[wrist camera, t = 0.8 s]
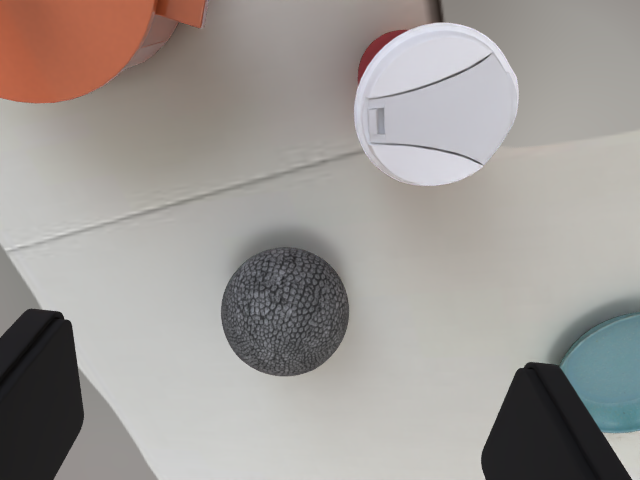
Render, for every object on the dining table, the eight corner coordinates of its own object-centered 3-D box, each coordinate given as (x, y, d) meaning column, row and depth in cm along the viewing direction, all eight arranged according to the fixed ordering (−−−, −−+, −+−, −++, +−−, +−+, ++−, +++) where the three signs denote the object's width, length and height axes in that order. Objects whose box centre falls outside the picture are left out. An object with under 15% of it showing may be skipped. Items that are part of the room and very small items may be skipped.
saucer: (573, 288, 42) (588, 305, 40) (732, 301, 43) (756, 319, 41) (525, 407, 49) (535, 428, 47) (662, 418, 50) (679, 439, 47)
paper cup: (346, 130, 36) (359, 201, 23) (339, 19, 32) (351, 33, 20) (450, 121, 36) (519, 188, 23) (454, 8, 32) (539, 15, 20)
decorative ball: (225, 311, 44) (201, 392, 35) (241, 215, 39) (218, 279, 30) (331, 331, 45) (333, 414, 36) (358, 239, 40) (369, 308, 31)
